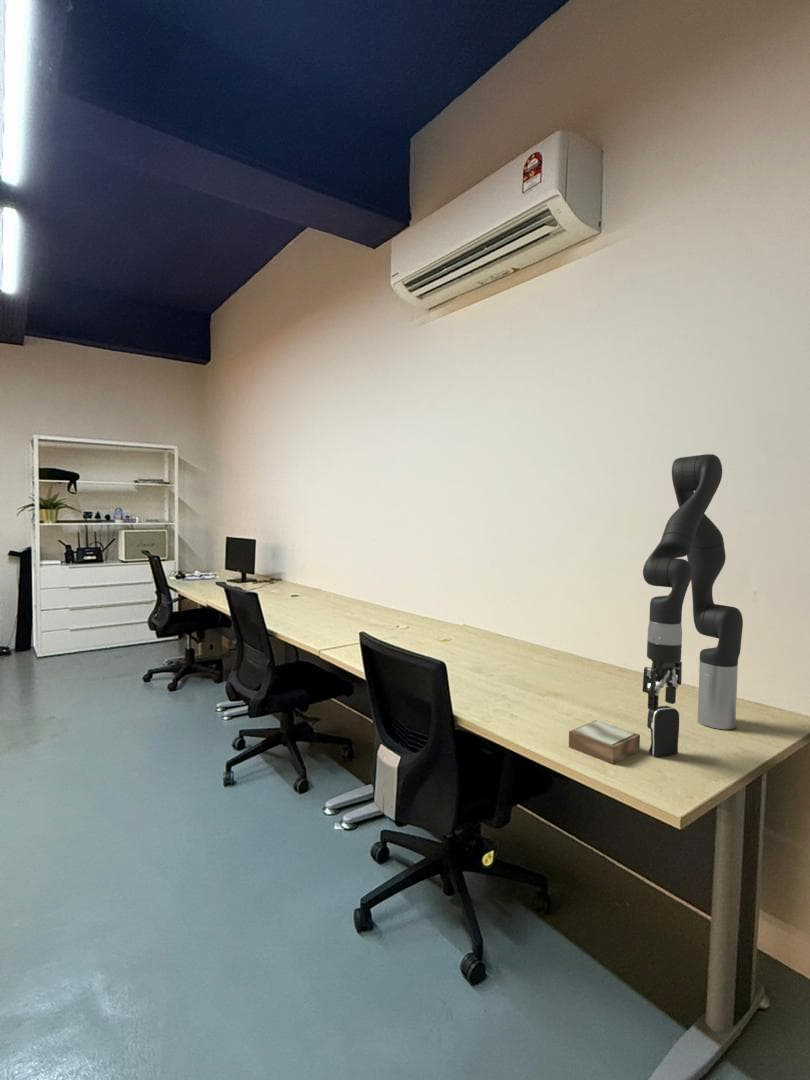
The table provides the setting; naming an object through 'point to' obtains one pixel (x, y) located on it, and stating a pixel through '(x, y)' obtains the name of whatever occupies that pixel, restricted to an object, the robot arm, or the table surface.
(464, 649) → the table surface
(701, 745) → the table surface
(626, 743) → the base
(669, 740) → the battery
